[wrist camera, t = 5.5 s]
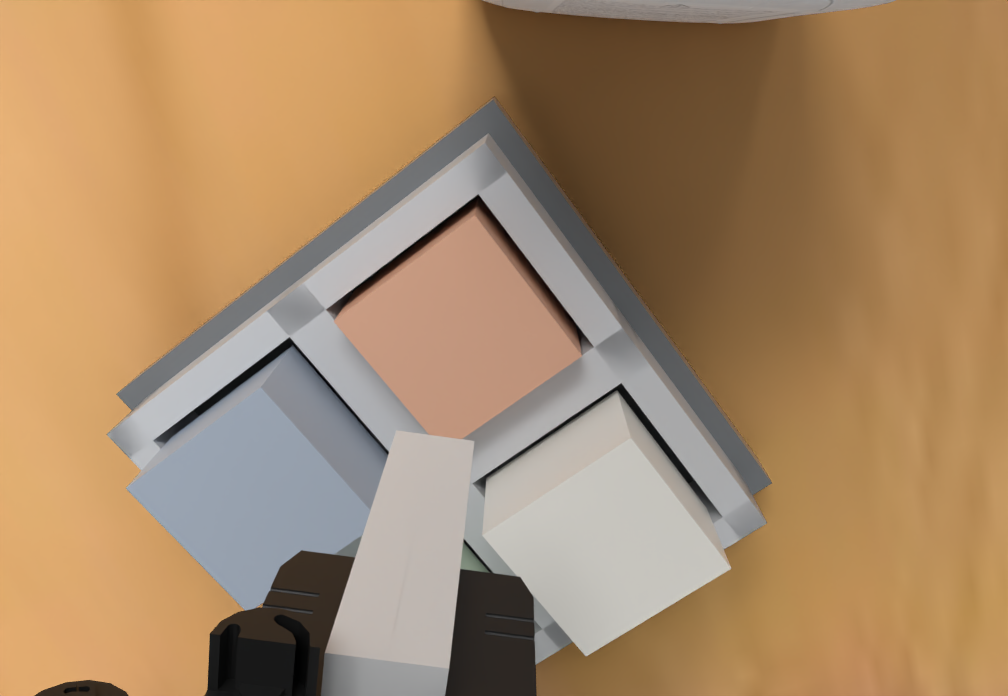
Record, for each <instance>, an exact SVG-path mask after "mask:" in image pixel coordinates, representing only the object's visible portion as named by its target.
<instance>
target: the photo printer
mask: <svg viewBox="0 0 1008 696" xmlns="http://www.w3.org/2000/svg"><path fill="white" fill-rule="evenodd" d="M483 1H486V2H489V3H492V4H495V5H499V6H503V7H506V8H512V9H519V10H526V11H534V12H536V13H538V12H546V13H555V14H566V15H577V16H589V17H602V18H617V19H633V20H649V21H669V22H694V23H718V24H723V23H748V22H757V21H764V20H771V19H778V18H786V17H793V16H800V15H809V14H818V13H826V12H834V11H843V10H851V9H858V8H865V7H871V6H876V5H881V4H885V3H890V2H893V1H895V0H483Z"/></svg>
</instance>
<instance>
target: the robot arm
mask: <svg viewBox="0 0 1008 696" xmlns="http://www.w3.org/2000/svg"><path fill="white" fill-rule="evenodd" d="M473 449H474V441H471V440H464V439H456V438H449V437H442V436H434V435H427V434H420V433H412V432H405V431H398V430H396V433H395V436H394V439H393V442H392V445H391V448H390V451H389V454H388V458H387V461H386V464H385V467H384V470H383V473H382V476H381V479H380V482H379V486H378V489H377V492H376V495H375V498H374V501H373V504H372V507H371V510H370V514H369V517H368V520H367V523H366V526H365V529H364V532H363V535H362V539H361V542H360V545H359V548H358V551H357V554H356V557H349V556H341V555H334V554H326V553H318V552H311V551H303V550H301V551H300V552H299V553H297V554H296V555H295V556H293V557H292V558H291V559H289V560H288V561H287V562H286V563H284V564H283V565H282V566H280V568H279V570H278V572H277V575H276V577H275V579H274V581H273V583H272V585H271V589H270V591H269V592H268V594H267V596H266V598H265V601H264V603H263V607H262V608H254V609H250V610H246V611H241V612H237V613H236V614H234V615H232V616H230V617H228V618H226V619H224V620H222V621H221V622H220V623H219V624H218V625H217V626H216V627H215V629H214V630H213V631H212V632H211V633H210V645H209V669H208V690H207V692H206V694H205V696H536V664H535V641H534V638H535V629H534V597H533V596H532V594H531V593H530V591H529V589H528V588H527V586H526V585H525V583H524V582H523V580H522V579H521V577H518V576H511V575H503V574H496V573H488V572H480V571H473V570H465V569H460V566H461V557H462V548H463V539H464V530H465V521H466V512H467V503H468V494H469V485H470V476H471V467H472V458H473ZM35 696H128V694H127V693H126V692H125V691H123V690H122V689H120V688H118V687H116V686H114V685H112V684H111V683H105V682H98V681H92V680H85V681H76V682H66V683H63V684H60V685H57V686H54V687H51V688H48V689H45V690H43V691H41V692H39V693H38V694H36V695H35Z"/></svg>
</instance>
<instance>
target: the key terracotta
mask: <svg viewBox="0 0 1008 696" xmlns="http://www.w3.org/2000/svg"><path fill="white" fill-rule="evenodd" d="M334 323H335V324H336V325H337V326H338V327H339V329H340V330H341V331H342V332H343V333H344V334H345V336H346V337H347V338H348V339H349V340H350V342H351V343H352V344H353V345H354V346H355V347H356V349H357V350H358V351H359V352H360V353H361V355H362V356H363V357H364V358H365V359H366V360H367V362H368V363H369V364H370V365H371V366H372V368H373V369H374V370H375V371H376V372H377V374H378V375H379V376H380V377H381V378H382V379H383V381H384V382H385V383H386V384H387V385H388V387H389V388H390V389H391V390H392V391H393V392H394V394H395V395H396V396H397V397H398V398H399V400H400V401H401V402H402V403H403V404H404V406H405V407H406V408H407V409H408V410H409V411H410V413H411V414H412V415H413V416H414V417H415V419H416V420H417V421H418V422H419V423H420V424H421V426H422V427H423V428H424V429H425V430H426V432H427V433H428V434H429V435H434V436H442V437H449V438H456V439H463V438H464V437H466V436H467V435H469V434H470V433H472V432H473V431H474V430H476V429H477V428H479V427H480V426H482V425H483V424H485V423H486V422H487V421H489V420H490V419H492V418H493V417H495V416H496V415H498V414H499V413H501V412H502V411H503V410H505V409H506V408H508V407H509V406H511V405H512V404H514V403H515V402H516V401H518V400H519V399H521V398H522V397H524V396H525V395H527V394H528V393H530V392H531V391H532V390H534V389H535V388H537V387H538V386H540V385H541V384H543V383H544V382H545V381H547V380H548V379H550V378H551V377H553V376H554V375H556V374H557V373H558V372H560V371H561V370H563V369H564V368H566V367H567V366H569V365H570V364H572V363H573V362H574V361H576V360H577V359H579V358H580V357H582V353H581V348H580V343H579V338H578V333H577V329H576V324H575V321H574V320H573V318H572V317H571V316H570V315H569V313H568V312H567V311H566V309H565V308H564V307H563V305H562V304H561V303H560V301H559V300H558V299H557V297H556V296H555V295H554V293H553V292H552V291H551V289H550V288H549V287H548V285H547V284H546V283H545V281H544V280H543V279H542V278H541V276H540V275H539V274H538V272H537V271H536V270H535V268H534V267H533V266H532V264H531V263H530V262H529V260H528V259H527V258H526V256H525V255H524V254H523V252H522V251H521V250H520V248H519V247H518V246H517V244H516V243H515V242H514V241H513V239H512V238H511V237H510V235H509V234H508V233H507V231H506V230H505V229H504V227H503V226H502V225H501V223H500V222H499V221H498V219H497V218H496V217H495V215H494V214H493V213H492V211H491V210H490V209H489V207H488V206H487V205H486V204H485V202H484V201H483V200H482V198H481V197H480V196H478V197H477V198H476V199H474V200H473V201H472V202H470V203H469V204H468V205H466V206H465V207H464V208H462V209H461V210H460V211H458V212H457V213H456V214H454V215H453V216H452V217H451V218H449V219H448V220H447V221H445V222H444V223H443V224H441V225H440V226H439V227H437V228H436V229H435V230H433V231H432V232H431V233H429V234H428V235H427V236H425V237H424V238H423V239H421V240H420V241H419V242H417V243H416V244H415V245H414V246H412V247H411V248H410V249H408V250H407V251H406V252H404V253H403V254H402V255H400V256H399V257H398V258H396V259H395V260H394V261H392V262H391V263H390V264H388V265H387V266H386V267H384V268H383V269H382V270H380V271H379V272H378V273H377V274H375V275H374V276H373V277H371V278H370V279H369V280H367V281H366V282H365V283H363V284H362V285H361V286H359V287H358V288H357V289H355V291H354V292H353V294H352V295H351V297H350V298H349V300H348V301H347V302H346V304H345V305H344V307H343V308H342V310H341V311H340V313H339V314H338V316H337V317H336V319H335V320H334Z"/></svg>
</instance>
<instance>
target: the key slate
mask: <svg viewBox="0 0 1008 696" xmlns="http://www.w3.org/2000/svg"><path fill="white" fill-rule="evenodd" d="M387 458H388V455H387V453H386V452H385V451H384V450H383V449H382V448H381V446H380V445H379V444H378V443H377V442H376V441H375V440H374V438H373V437H372V436H371V435H370V434H369V433H368V431H367V430H366V429H365V428H364V427H363V426H362V425H361V423H360V422H359V421H358V420H357V419H356V418H355V416H354V415H353V414H352V413H351V412H350V411H349V410H348V408H347V407H346V406H345V405H344V404H343V403H342V401H341V400H340V399H339V398H338V397H337V396H336V395H335V393H334V392H333V391H332V390H331V389H330V388H329V386H328V385H327V384H326V383H325V382H324V381H323V380H322V378H321V377H320V376H319V375H318V374H317V373H316V371H315V370H314V369H313V368H312V367H311V366H310V365H309V363H308V362H307V361H306V360H305V359H304V358H303V356H302V355H301V354H300V353H299V352H298V351H297V350H296V348H295V347H294V346H293V345H292V346H291V347H290V348H288V349H287V350H286V351H284V352H283V353H282V354H280V355H279V356H278V357H277V358H275V359H274V360H273V361H271V362H270V363H269V364H267V365H266V366H265V367H263V368H262V369H261V370H259V371H258V372H257V373H255V374H254V375H253V376H251V377H250V378H249V379H247V380H246V381H245V382H243V383H242V384H241V385H239V386H238V387H237V388H235V389H234V390H233V391H231V392H230V393H229V394H227V395H226V396H225V397H223V398H222V399H221V400H220V401H218V402H217V403H216V404H214V405H213V406H212V407H210V408H209V409H208V410H206V411H205V412H204V413H202V414H201V415H200V416H198V417H197V418H196V419H194V420H193V421H192V422H190V423H189V424H188V425H186V426H185V427H184V428H182V429H181V430H180V431H178V432H177V433H176V434H174V435H173V436H172V437H171V438H170V439H169V440H168V442H167V443H166V444H165V445H164V446H163V447H162V448H161V449H160V451H159V452H158V453H157V454H156V455H155V456H154V457H153V458H152V459H151V461H150V462H149V463H148V464H147V465H146V466H145V467H144V468H143V469H142V471H141V472H140V473H139V474H138V475H137V476H136V477H135V478H134V480H133V481H132V482H131V483H130V484H129V485H128V486H127V487H126V489H127V490H128V491H129V492H130V493H131V494H132V495H133V496H134V497H135V498H136V499H137V500H138V501H139V502H140V503H141V504H142V505H143V507H144V508H145V509H146V510H147V511H148V512H149V513H150V514H151V515H152V516H153V517H154V518H155V519H156V520H157V521H158V522H159V523H160V524H161V525H162V526H163V527H164V528H165V529H166V530H167V531H168V532H169V533H170V534H171V535H172V536H173V537H174V538H175V539H176V540H177V541H178V542H179V543H180V544H181V545H182V546H183V547H184V548H185V549H186V550H187V551H188V553H189V554H190V555H191V556H192V557H193V558H194V559H195V560H196V561H197V562H198V563H199V564H200V565H201V566H202V567H203V568H204V569H205V570H206V571H207V572H208V573H209V574H210V575H211V576H212V577H213V578H214V579H215V580H216V581H217V582H218V583H219V584H220V585H221V586H222V587H223V588H224V589H225V590H226V591H227V592H228V593H229V594H230V595H231V596H232V597H233V599H234V600H235V601H236V602H237V603H238V604H239V605H240V606H241V607H242V608H243V609H244V610H245V611H246V610H250V609H254V608H256V607H257V606H259V605H260V604H262V603H263V602H264V601H265V598H266V596H267V594H268V592H269V591H270V589H271V585H272V583H273V581H274V579H275V577H276V575H277V572H278V570H279V568H280V566H282V565H283V564H284V563H286V562H287V561H288V560H289V559H291V558H292V557H293V556H295V555H296V554H297V553H299V552H300V551H301V550H303V551H311V552H318V553H326V554H335V553H337V552H338V551H340V550H341V549H343V548H344V547H345V546H347V545H348V544H350V543H351V542H353V541H354V540H356V539H357V538H359V537H360V536H362V535H363V532H364V529H365V526H366V523H367V520H368V517H369V514H370V510H371V507H372V504H373V501H374V498H375V495H376V492H377V489H378V486H379V482H380V479H381V476H382V473H383V470H384V467H385V464H386V461H387Z"/></svg>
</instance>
